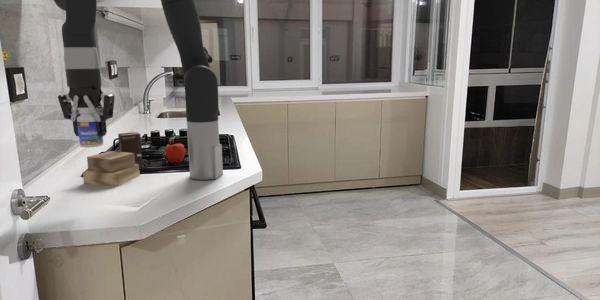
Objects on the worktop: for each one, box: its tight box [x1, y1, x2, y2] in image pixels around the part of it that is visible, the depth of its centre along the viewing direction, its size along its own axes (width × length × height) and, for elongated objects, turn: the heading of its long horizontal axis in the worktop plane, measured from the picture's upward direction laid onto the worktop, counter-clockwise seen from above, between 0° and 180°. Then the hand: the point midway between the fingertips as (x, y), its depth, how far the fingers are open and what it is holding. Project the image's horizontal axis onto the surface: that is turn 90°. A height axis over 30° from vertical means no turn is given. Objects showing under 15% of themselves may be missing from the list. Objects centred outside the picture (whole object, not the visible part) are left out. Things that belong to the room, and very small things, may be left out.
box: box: [117, 131, 143, 169], centre depth 134 cm, size 6×4×12 cm
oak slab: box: [82, 164, 141, 187], centre depth 124 cm, size 11×11×4 cm
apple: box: [164, 135, 187, 164], centre depth 143 cm, size 8×7×10 cm
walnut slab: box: [86, 150, 135, 173], centre depth 123 cm, size 9×9×4 cm
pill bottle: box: [77, 108, 104, 148], centre depth 104 cm, size 5×5×10 cm
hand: (90, 135), depth 105 cm, fingers closed on pill bottle, 5 cm apart
